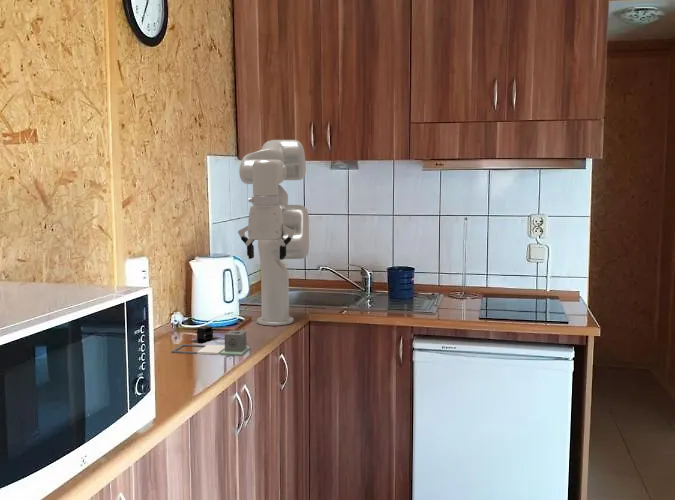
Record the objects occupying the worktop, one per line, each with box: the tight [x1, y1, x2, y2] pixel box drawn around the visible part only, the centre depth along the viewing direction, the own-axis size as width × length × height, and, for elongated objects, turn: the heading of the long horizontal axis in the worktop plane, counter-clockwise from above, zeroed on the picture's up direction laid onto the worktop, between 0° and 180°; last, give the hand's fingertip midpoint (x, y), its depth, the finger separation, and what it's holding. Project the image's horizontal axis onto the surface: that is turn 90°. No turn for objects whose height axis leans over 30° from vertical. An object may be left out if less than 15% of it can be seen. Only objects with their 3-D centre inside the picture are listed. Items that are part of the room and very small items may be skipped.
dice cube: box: [223, 330, 248, 352], centre depth 203 cm, size 5×5×5 cm
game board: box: [171, 343, 251, 357], centre depth 204 cm, size 8×21×1 cm, turn 80°
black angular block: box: [188, 325, 222, 345], centre depth 218 cm, size 12×7×5 cm, turn 149°
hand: (266, 258), depth 208 cm, fingers open, 9 cm apart
